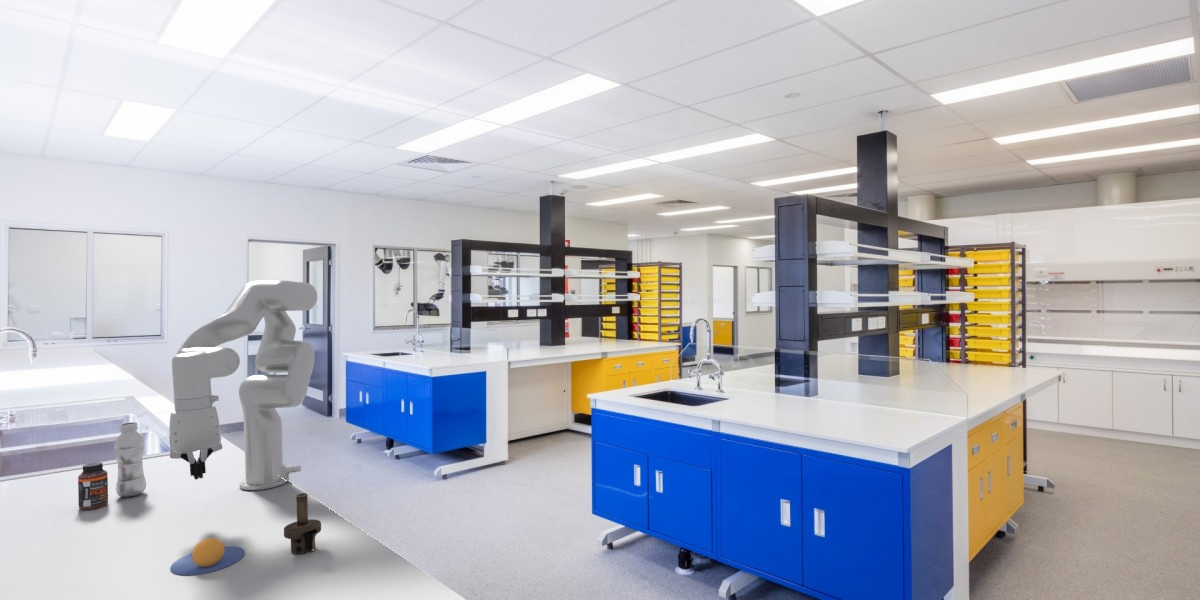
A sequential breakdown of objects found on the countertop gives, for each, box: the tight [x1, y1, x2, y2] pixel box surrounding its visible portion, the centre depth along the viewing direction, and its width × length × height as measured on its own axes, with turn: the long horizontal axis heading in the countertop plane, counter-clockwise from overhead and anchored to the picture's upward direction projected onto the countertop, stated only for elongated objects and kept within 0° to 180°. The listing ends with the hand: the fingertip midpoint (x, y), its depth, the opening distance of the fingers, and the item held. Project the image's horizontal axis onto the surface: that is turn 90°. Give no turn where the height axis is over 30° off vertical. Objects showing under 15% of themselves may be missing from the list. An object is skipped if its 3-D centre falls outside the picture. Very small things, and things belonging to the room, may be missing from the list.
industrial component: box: [283, 492, 322, 554], centre depth 131 cm, size 9×7×12 cm
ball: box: [192, 537, 225, 567], centre depth 123 cm, size 6×6×6 cm
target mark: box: [169, 545, 246, 576], centre depth 126 cm, size 13×13×1 cm
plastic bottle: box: [114, 421, 147, 498], centre depth 166 cm, size 6×7×20 cm
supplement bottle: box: [77, 461, 109, 511], centre depth 158 cm, size 6×6×11 cm
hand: (198, 477), depth 148 cm, fingers closed
